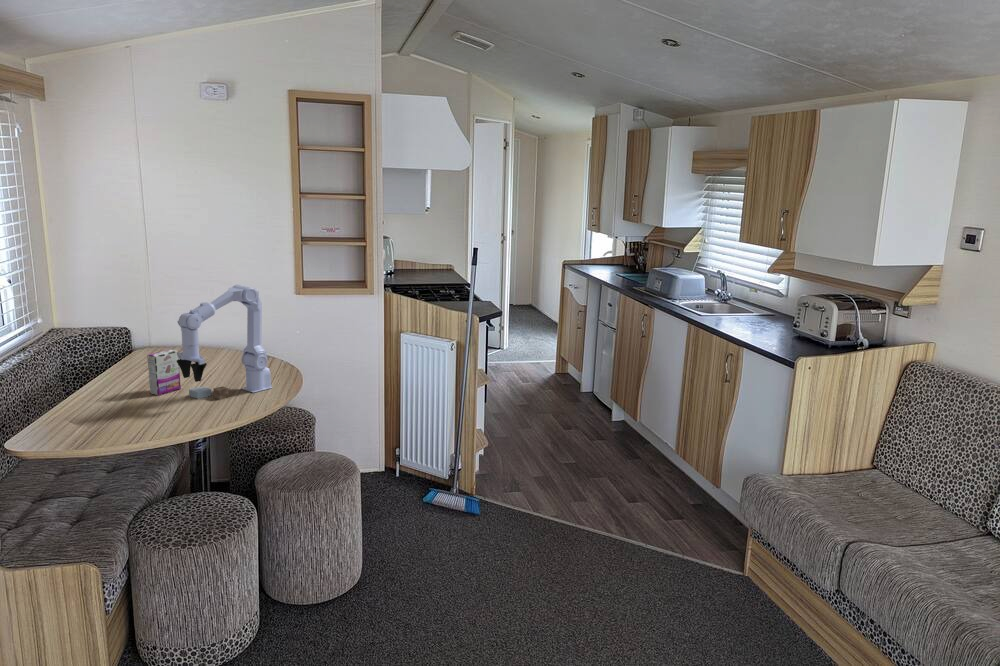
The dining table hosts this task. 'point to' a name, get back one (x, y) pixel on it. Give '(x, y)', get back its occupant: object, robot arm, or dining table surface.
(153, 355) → the candy bar box
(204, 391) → the base block
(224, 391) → the walnut cube
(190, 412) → the dining table surface
